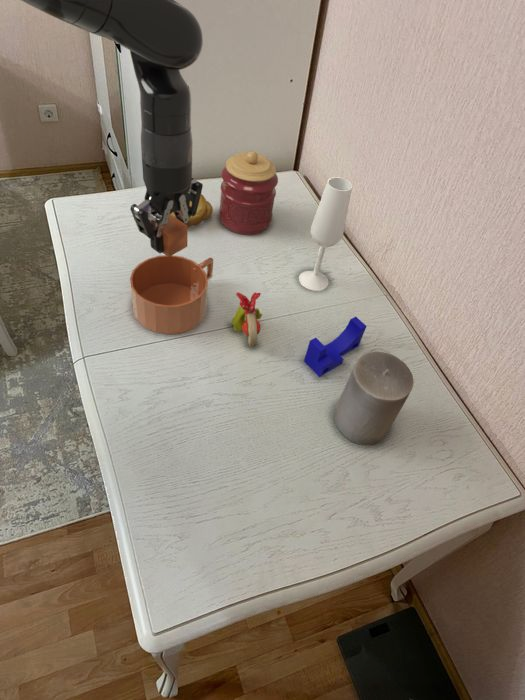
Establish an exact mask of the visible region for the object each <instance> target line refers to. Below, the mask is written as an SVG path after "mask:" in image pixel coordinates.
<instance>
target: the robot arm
mask: <svg viewBox="0 0 525 700" xmlns="http://www.w3.org/2000/svg"><path fill="white" fill-rule="evenodd" d="M20 1H22V2H23V3H26V4H27V5H29V6H30V7H33V8H34V9H37V10H39V11H41V12H42V13H45V14H46V15H49V16H51V17H53V18H56V19H58V20H59V21H62V22H64V23H66V24H69V25H72V26H74V27H77V28H79V29H81V30H83V31H85V32H88V33H90V34H93V35H96V36H97V37H98V36H99V37H102V38H105V39H108V40H110V41H111V42H114V43H116V44H118V45H119V46H121V47H123V48H125V49H127V50H129V54H130V58H131V62H132V66H133V70H134V74H135V78H136V81H137V84H138V89H139V98H140V99H139V104H140V106H139V107H140V118H141V119H140V122H141V126H140V127H141V128H140V150H141V151H140V153H141V166H142V179H143V182H144V185H145V188H146V191H145V194H144V200H143V201H142V202H141V203H139V204H138V205H137V204H136V203H132V205H130V212H131V214H132V217H133V220H134V222H135V224H136V227H137V229H138V231H139V232H140V234H143V235H144V236H146V237H147V238H148V239H149V241H150V242H149V243H150V247H151V249H152V250H154V251H155V252H156V253H158V254H163V253H162V252H164V242H163V235H162V234H163V230H164V226H165V225H166V224H167V223H168V219H169V215H170V214H171V213H172V212H173V213H174V216H175V217H176V218H177V219H178V220H180V221H181V222H183V223H184V224H186V225H187V222H188V221H189V217H190V216H195V215H196V212H197V208H198V204H199V200H200V196H201V194H202V192H203V187H204V184H203V183H201V182H200V181H198V180H197V179H195V178H193V134H192V93H191V90H190V89H191V88H190V87H189V85H188V83H187V82H186V81H185V80H186V79H184V76H183V75H182V74H181V70H184V69H187V68H189V67H190V66H192V65H193V64H195V63H196V62H197V60H198V59H199V57H200V55H201V53H202V50H203V47H204V46H203V45H204V37H203V36H204V35H203V30H202V27H201V25H200V23H199V21H198V19H197V17H196V16H195V15H194V14H193V13H192V12H191V10H189V9H188V8H187V7H185V5H184V6H183V4H181V3H180V2H178V1H176V0H20ZM190 201H191V202H192V205H191V207H190V206H189V203H190ZM156 223H157V227H156V226H155V224H156Z"/></svg>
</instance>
